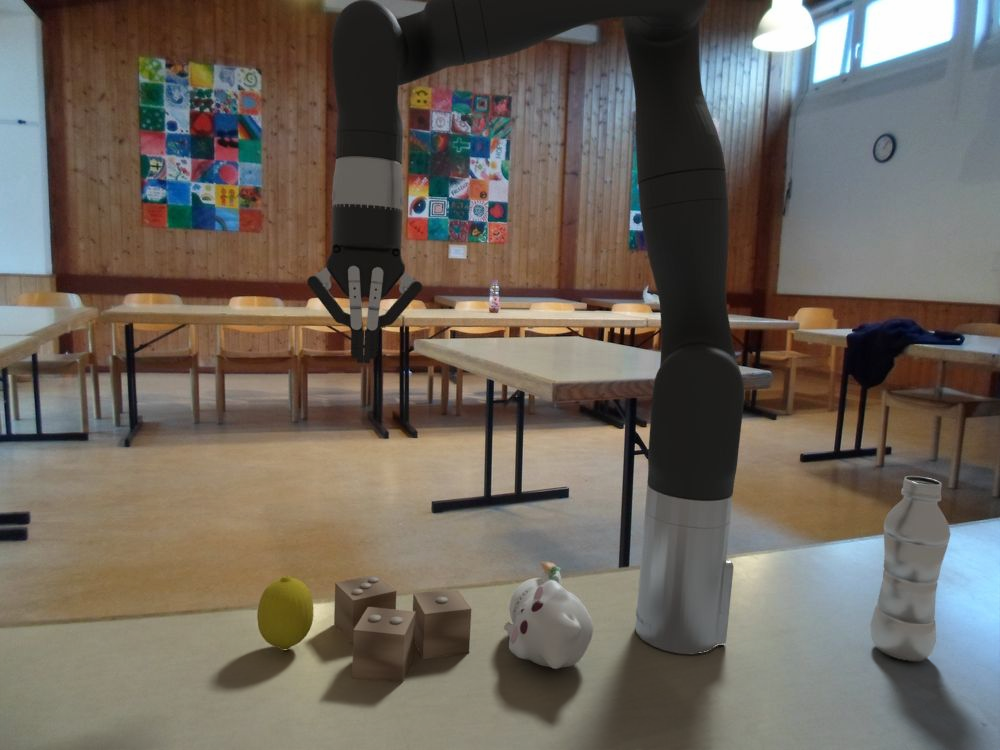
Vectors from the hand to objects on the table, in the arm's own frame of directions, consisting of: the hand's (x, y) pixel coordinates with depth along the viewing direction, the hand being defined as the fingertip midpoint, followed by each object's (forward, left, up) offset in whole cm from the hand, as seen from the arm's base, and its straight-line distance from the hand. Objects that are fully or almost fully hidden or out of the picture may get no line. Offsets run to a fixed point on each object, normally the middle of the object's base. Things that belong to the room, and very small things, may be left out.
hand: (363, 362), depth 81 cm
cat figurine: (-20, +12, -29) cm, 37 cm away
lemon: (+7, +9, -29) cm, 31 cm away
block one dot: (-9, +9, -29) cm, 32 cm away
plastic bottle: (-60, +15, -29) cm, 68 cm away
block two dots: (-3, +13, -29) cm, 32 cm away
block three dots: (-1, +5, -29) cm, 30 cm away
